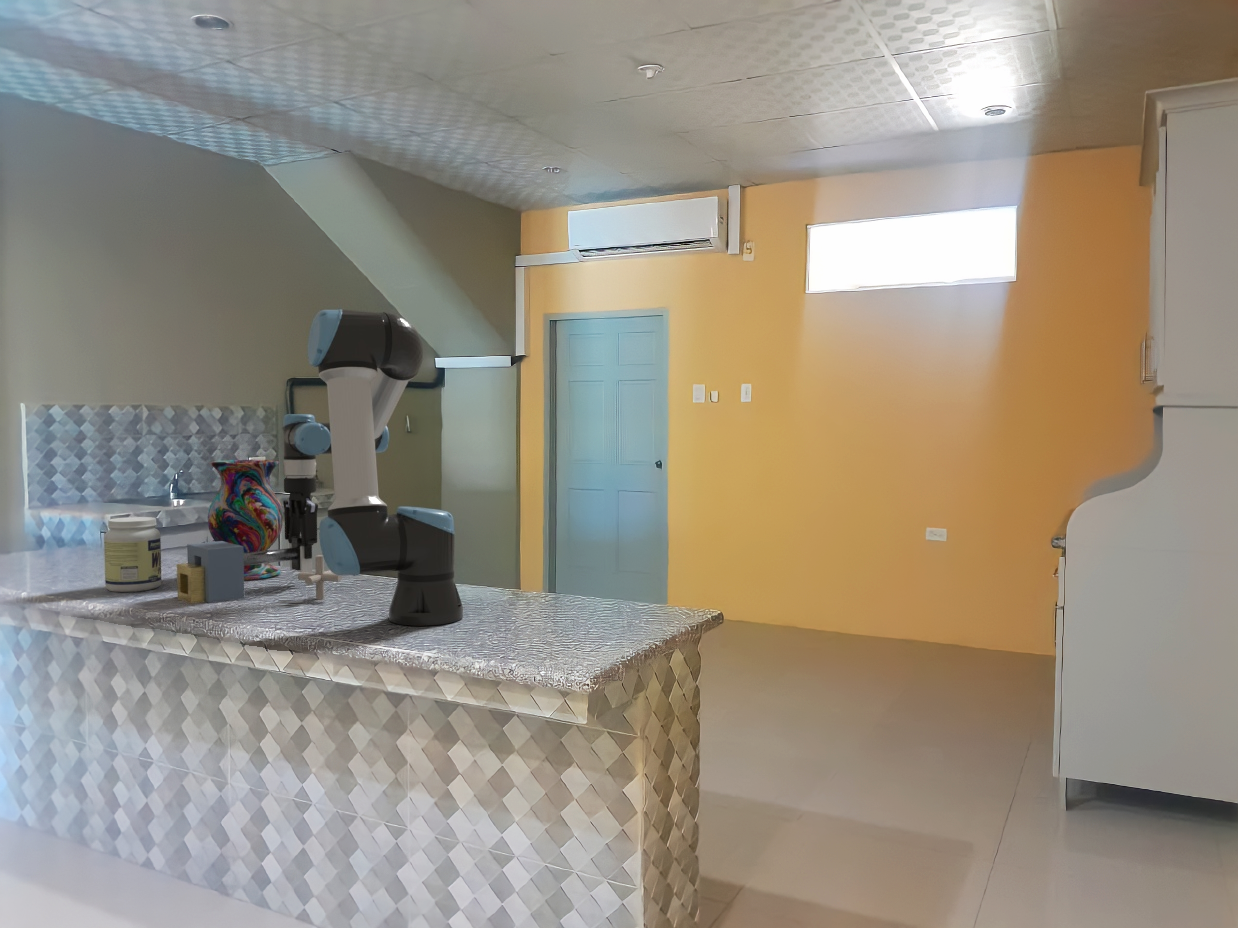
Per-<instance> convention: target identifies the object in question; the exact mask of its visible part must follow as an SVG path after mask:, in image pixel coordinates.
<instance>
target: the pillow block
mask: <svg viewBox="0 0 1238 928" xmlns="http://www.w3.org/2000/svg"><path fill="white" fill-rule="evenodd" d="M186 546H187V554H186V555H187V563H193V564H197V565H200V566H203V567H204V568H205V602H204V603H208V604H211V603H218V602H225V601H233V600H239V599H245V580H244V549H243V546H240V545H236V544H232V543H228V542H224V541H217V542H215V541H208V542H197V543H188V544H187V545H186Z"/></svg>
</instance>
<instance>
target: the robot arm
mask: <svg viewBox="0 0 1238 928" xmlns="http://www.w3.org/2000/svg"><path fill="white" fill-rule="evenodd" d="M424 350H425V349H424V344H423V341H422V339H421V336H420V334H419V332H418V331H417V329H416V328H415V326H413V325H412V323H411V322H410V321H409V320H407V319H406V318H405V317H403V316H401V315H398V314H396V313H391V312H385V311H383V312H375V311H364V310H353V309H352V310H351V309H350V310H349V309H342V308H338V309H322V310H320V311H318V312H317V313H316V315H315V316H314V318H313V320H312V323H311V327H310V329H309V335H308V342H307V359H308V363H309V365H310V366H311V367H313V368H317V367H318V368H317V369H318V370H317V371H318V377H319V378H320V379H321V380H322V381H323V382H325V384H326V386H327V402H328V414H329V416H328V417H329V418H328V419H329V422H316V417H315V416H314V415H313V414H310V413H309V414H306V413H305V414H304V413H303V414H301V413H299V414H297V413H295V414H293V413H291V414H290V413H289V414H288V413H287V414H285V415H284V416H283V420H282V421H283V422H282V423H283V424H282V428H281V429H282V433H283V436H282V437H283V444H282V445H283V461H282V462H283V465H282V466H283V476H285V477H284V479H283V492H284V493H286V494H289V497H288V499H285V500H283V502H282V504H283V509H284V511H283V515H284V539H285V541H286V540H287V541H288V543H289V548H292V542H291V537H297V536H301V539H302V544H299V545H300V570H299V571H300V572H306V573H312V572H313V546H314V544H317V543H318V539H319V544H320V550H321V555H323V557H324V563H325V564H326V566H327V568H328V570H330V571H331V572H333V573H334V574H336V575H341V576H354V577H355V576H360V575H368V574H379V573H391V572H397V583H396V586H395V590H394V593H393V596H392V599H391V603H390V606H389V608H388V612H389V613H388V620H389V621H390V622H391V623H394V624H397V625H402V626H414V627H415V626H417V627H419V626H420V627H421V626H422V627H425V626H427V627H428V626H438V625H447V624H450V623H455V622H458V621H460V620H461V619H463V616H464V606H463V604H462V600H461V597H460V595H459V591H458V587H457V585H456V581H455V536H456V532H455V525H454V524H455V521H454V517H453V515H452V514H451V513H450V512H449V511H446V510H442V509H436V508H428V507H426V508H425V507H418V506H398V507H397V508H396V511H395V513H394V514H388V513H389V512H388V505H387V503H385V502H384V501H383V500H382V499H381V498H380V496H379V485H378V484H379V482H378V480H379V479H378V468H377V467H378V466H377V454H378V453H380V454H381V453H384V452H385V451H386V450H387V449H388V447H389V442H390V432H389V427H388V426H387V425H388V423H389V421H390V419H391V417H392V415H393V413H394V411H395V409H396V407H397V405H398V402H399V400H400V399H401V398H402V395H403V393H404V391H405V390H406V389H405V388H406V387H407V385H408V383H409V381H410V380H412V379H414V378H415V377H416V376H417V375H418V373H419V371H420V369H421V367H422V364H423V360H424V356H425V355H424V354H425V353H424ZM319 455H331V463H332V464H331V465H332V475H333V476H332V477H333V478H332V479H333V491H334V492H333V493H334V495H333V496H334V501H333V503H332V504H330V506H329V507H328V508H327V516H325V517H324V518H322V519H320V522H319V526H318V510H319V509H318V508H319V503H316V502H314V503H313V500H312V495H311V494H313V493H316V491H317V478H316V477H315V476H316V474H317V473H316V472H317V471H316V469H317V467H316V466H318V465H317V462H316V456H319ZM318 527H319V528H318ZM318 529H319V532H318ZM318 535H319V537H318ZM289 569H290V570H291V571H293V569H292V560H289Z"/></svg>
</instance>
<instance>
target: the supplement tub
mask: <svg viewBox="0 0 1238 928" xmlns="http://www.w3.org/2000/svg"><path fill="white" fill-rule="evenodd" d="M157 525H158V523H157V518H156V517H153V516H152V517H151V516H131V517H129V516H127V517H126V516H125V517H117V518H115V517H114V518H111V519H108V520H107V528H108V529H109V530H108V531H106V532H105V534H104V536H103V542H104V543H103V545H104V546H103V547H104V549H103V550H104V551H103V552H104V582H105V583H104V584H105V587H106V589H107V590H108V591H109V592H117V593H132V592H133V593H135V592H143V591H150V590H155V589H157V588H158V587H160V586H161V584H162V547H161V545H162V544H161V543H162V542H161V539H162V538H161V532H160V530H158V529H157V528H156V526H157Z"/></svg>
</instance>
